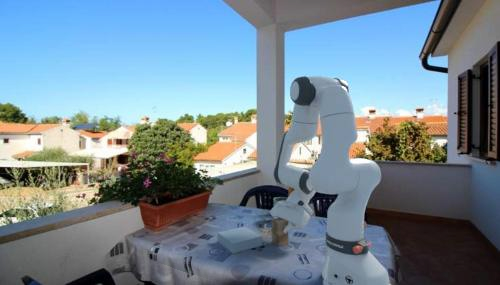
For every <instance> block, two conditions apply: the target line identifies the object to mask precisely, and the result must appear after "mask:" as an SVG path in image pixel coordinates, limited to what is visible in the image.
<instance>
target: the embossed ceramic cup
mask: <svg viewBox="0 0 500 285" xmlns="http://www.w3.org/2000/svg"><path fill="white" fill-rule="evenodd" d="M287 199H288V197H285V196H284V197H283V196H278V197H274V198H273V200H272V201H273V207H274V206H275V205H276V204H277V203H278V202H279V201H281V202H282V200H285V201H286V200H287ZM273 219H275V218H274V217H273Z"/></svg>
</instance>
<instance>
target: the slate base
mask: <svg viewBox="0 0 500 285" xmlns="http://www.w3.org/2000/svg"><path fill="white" fill-rule="evenodd" d="M217 243H219V244H220V245H222V246H223V247H224V248H226V250H228V251H229V252H231V253H232V254H237V253H241V252H245V251H248V250H250V249H255V248H258V247H261V246H263V235H261V234H259V233H258V232H255V231H253V230H252V229H250V228H248V227H247V226H241V227H237V228H233V229H228V230H222V231H218V232H217Z"/></svg>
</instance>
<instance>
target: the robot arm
mask: <svg viewBox="0 0 500 285" xmlns="http://www.w3.org/2000/svg"><path fill="white" fill-rule="evenodd" d="M289 88H290V91H289V95H290V99H291V101H292V103H294V105H293V110H292V116H291V123H290V127H289V128H288V129H287V130H286V131H285V132H284V134H283V137H282V140H281V145H280V149H279V153H278V156H277V157H278V158H277V162H276V165H275V166H274V170H273V178H274V180H275V182H276V183H277V184H281V185H282V186H283V185H284V186H287V187H288V188H289V187H291V188H294V191H293V192H292V193H291V194H290V196H288V197H287V198H288V199H287V200H286V201H285V200H282V202H281V201H279V202H278V203H277V204H276V205H275V206H274V205H273V207H272V208H271V210H270V211H269V214H270V216H271V217H273V219H274V218H275V219H277V218H281V219H284V220H286V221H288V225H287V226H286V227H283V229H282V231H283V232H284V233H287V231H288V232H289V231H290V230H291V229H292V228H294V227H295V228H298V229H301V230H302V229H304V228H306V226H307V225H308V222H309V221H310V220H311V219H310V218H311V216H312V215H313V213H314V211H313V210H312V208H311V207H310V206H308V203H309V202H310V200H311V199H312V198H313V197H314V196H315V194H316V192H317V193H319V194H325V195H337V197H336V199H335V200H334V202H332V203H331V204H330V206H329V207H328V209H327V220H326V221H327V226H326V228H327V229H326V230H327V231H326V232H325V245H326V249H325V250H326V251H325V260H324V264H323V269H322V271H321V276H322V279H323V280H322V285H392V284H391V283H390V278H389V273H388V271H387V269H386V268H385V267H384V266H383V265H382V264H381V263H380V261H378V259H377V258H376V257H375V256H374V255H373V253H371V252H370V250H369V248H370V247H372V245H371V244H372V242H371V241H370V242H368V243H367V240H366V238H365V236H364V231H365V229H364V221H365V212H366V207H367V205H368V202H369V199H370V197H371V194H372V192H373V191H374V189H375V188H376V187H377V186H378V185H379V184H380V182H381V180H382V172H381V171H382V170H381V168H380V167H379V165H378V164H377V162H375V161H374V160H371V159H368V158H363V157H350V149H351V147H352V145H353V144H355V143H356V142H357V140H358V128H357V122H356V117H355V110H354V106H353V103H352V98H351V96H350V93H349V86H348V83H347V82H346V81H345V80H343V79H341V78H338V77H334V78H333V77H332V78H331V77H328V76H327V77H325V76H321V75H320V76H319V75H316V76H314V75H313V76H312V75H311V76H307V75H306V76H299V77H296V78H294V80H293V81H292V83H291V84H290V87H289ZM319 125H320V126H319ZM319 127H320V130H321V139H322V140H321V149H320V152H319V155H318V158H317V160H316V161H315V162H314V163H313V164H312V165H311V167H310V170H308V169H305V168H303V167H299V166H296V165H293V164H291V162H290V161H291V157H292V152H293V149H294V147H295V145H297V144H301V143H305V142H309V141H312V140H313V139H314V138H315V137H316V135H317V134H318V131H319ZM363 230H364V231H363Z"/></svg>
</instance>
